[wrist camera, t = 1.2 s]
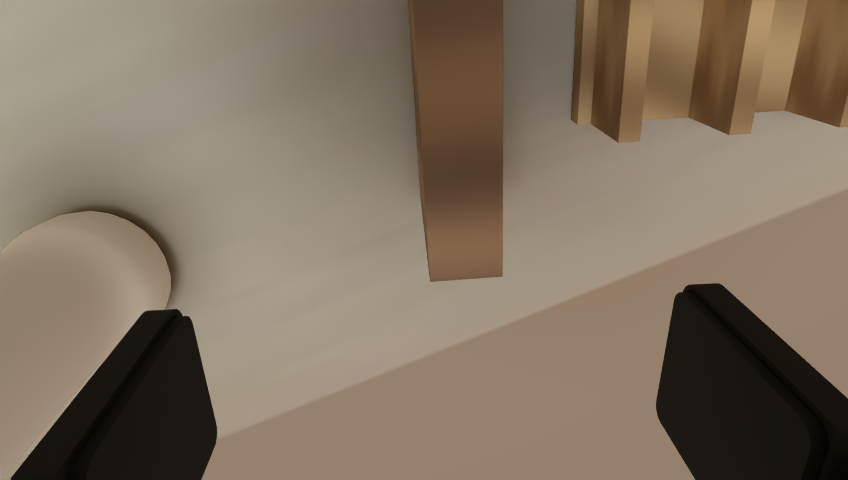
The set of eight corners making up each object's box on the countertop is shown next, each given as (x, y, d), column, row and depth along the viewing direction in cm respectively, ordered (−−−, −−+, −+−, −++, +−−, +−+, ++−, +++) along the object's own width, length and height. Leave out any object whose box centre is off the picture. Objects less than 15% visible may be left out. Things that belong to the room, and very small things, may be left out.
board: (405, -33, 27) (410, -44, 18) (467, -37, 27) (502, -50, 18) (420, 198, 32) (430, 281, 23) (472, 194, 32) (502, 276, 23)
